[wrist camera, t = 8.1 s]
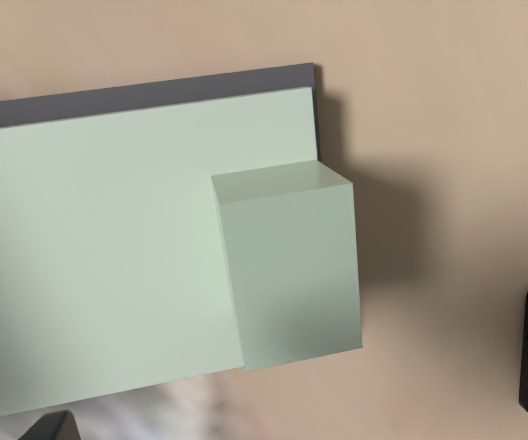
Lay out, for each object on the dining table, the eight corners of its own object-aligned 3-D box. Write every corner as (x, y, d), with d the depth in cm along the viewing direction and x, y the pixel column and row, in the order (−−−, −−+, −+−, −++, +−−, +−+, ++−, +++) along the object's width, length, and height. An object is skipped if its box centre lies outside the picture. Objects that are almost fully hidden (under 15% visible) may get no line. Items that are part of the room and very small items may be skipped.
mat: (310, 62, 16) (313, 62, 16) (332, 338, 19) (335, 343, 19) (-133, 117, 14) (-141, 119, 14) (-22, 409, 18) (-26, 416, 17)
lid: (301, 86, 16) (349, 91, 11) (324, 331, 19) (367, 410, 14) (-98, 139, 14) (-224, 170, 10) (-3, 397, 17) (-67, 508, 13)
